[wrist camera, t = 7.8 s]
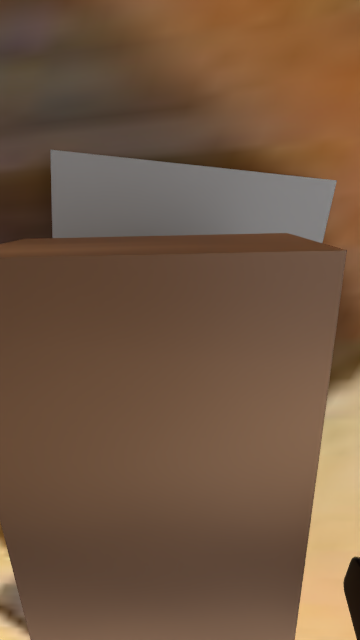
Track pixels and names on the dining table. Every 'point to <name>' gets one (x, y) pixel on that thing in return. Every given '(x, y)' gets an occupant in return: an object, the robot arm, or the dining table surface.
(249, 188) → the grey base with posts
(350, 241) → the dining table surface
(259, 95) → the dining table surface
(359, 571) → the robot arm
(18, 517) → the shelf board
